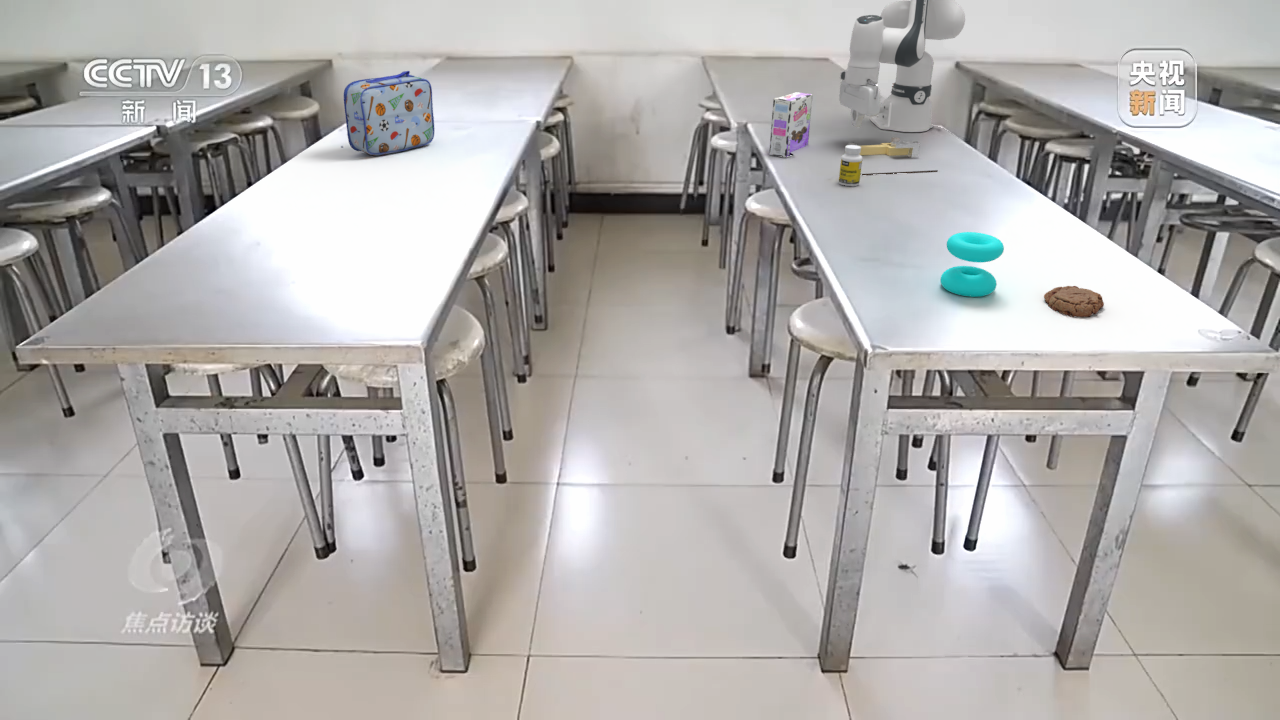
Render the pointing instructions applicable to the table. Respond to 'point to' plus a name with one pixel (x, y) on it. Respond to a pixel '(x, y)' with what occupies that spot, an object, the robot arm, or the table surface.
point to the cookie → (1074, 301)
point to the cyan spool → (969, 277)
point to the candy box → (790, 123)
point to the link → (881, 149)
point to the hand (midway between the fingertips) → (856, 126)
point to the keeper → (911, 145)
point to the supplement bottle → (850, 166)
